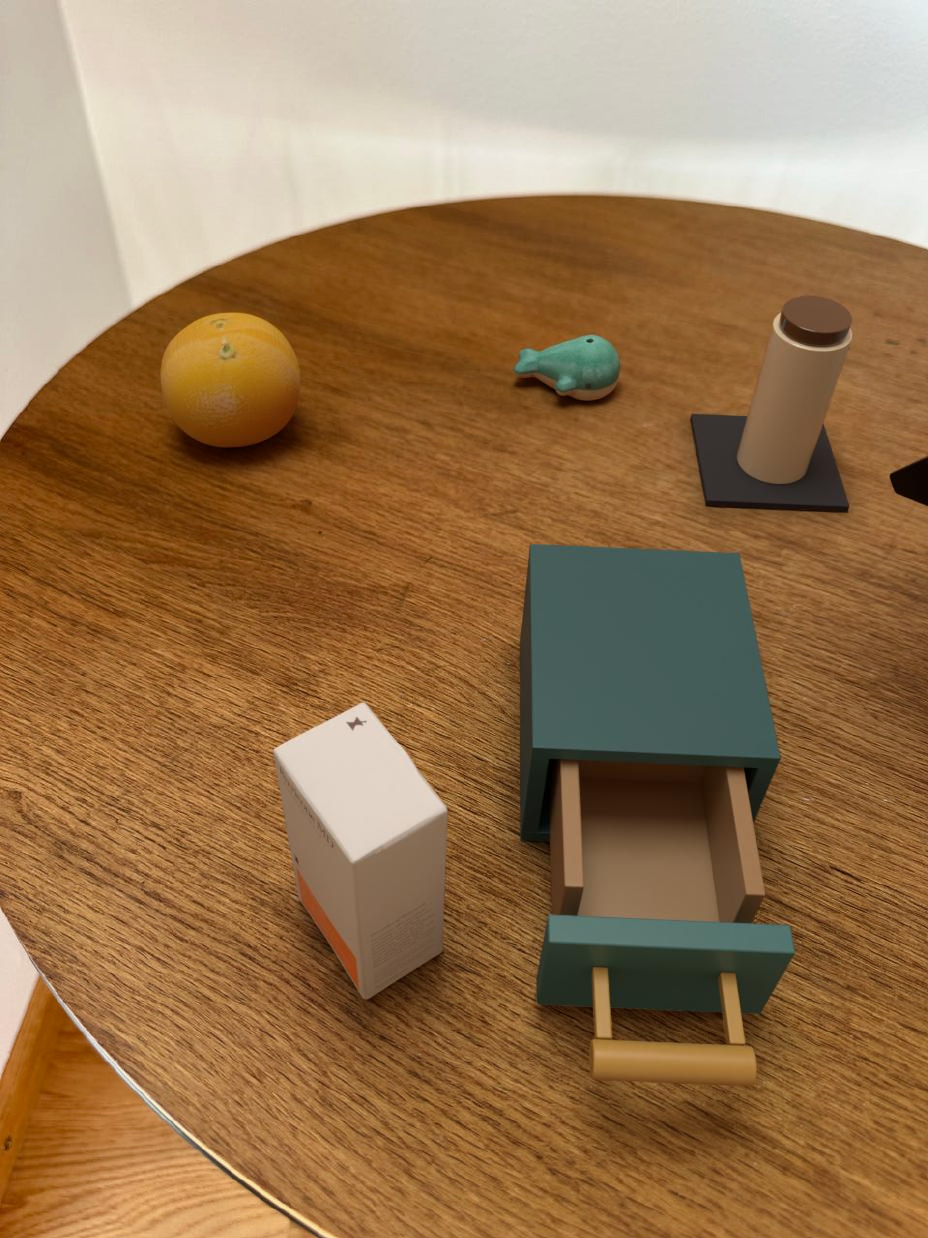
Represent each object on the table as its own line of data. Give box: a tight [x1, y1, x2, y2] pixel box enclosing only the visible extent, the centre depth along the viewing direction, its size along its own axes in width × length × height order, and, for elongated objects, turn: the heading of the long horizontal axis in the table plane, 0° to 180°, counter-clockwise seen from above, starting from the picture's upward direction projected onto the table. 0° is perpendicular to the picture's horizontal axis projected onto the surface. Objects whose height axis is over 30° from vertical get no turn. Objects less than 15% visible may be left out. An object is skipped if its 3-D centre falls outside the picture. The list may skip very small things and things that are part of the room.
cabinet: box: [519, 543, 782, 843], centre depth 53 cm, size 13×11×8 cm
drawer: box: [535, 759, 796, 1088], centre depth 45 cm, size 16×9×6 cm, turn 178°
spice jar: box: [737, 294, 853, 484], centre depth 67 cm, size 5×5×11 cm
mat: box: [689, 413, 850, 513], centre depth 71 cm, size 9×9×1 cm
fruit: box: [160, 312, 302, 448], centre depth 69 cm, size 9×8×8 cm
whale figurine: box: [513, 334, 621, 402], centre depth 75 cm, size 6×7×4 cm
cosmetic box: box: [272, 701, 449, 1000], centre depth 44 cm, size 6×4×12 cm
